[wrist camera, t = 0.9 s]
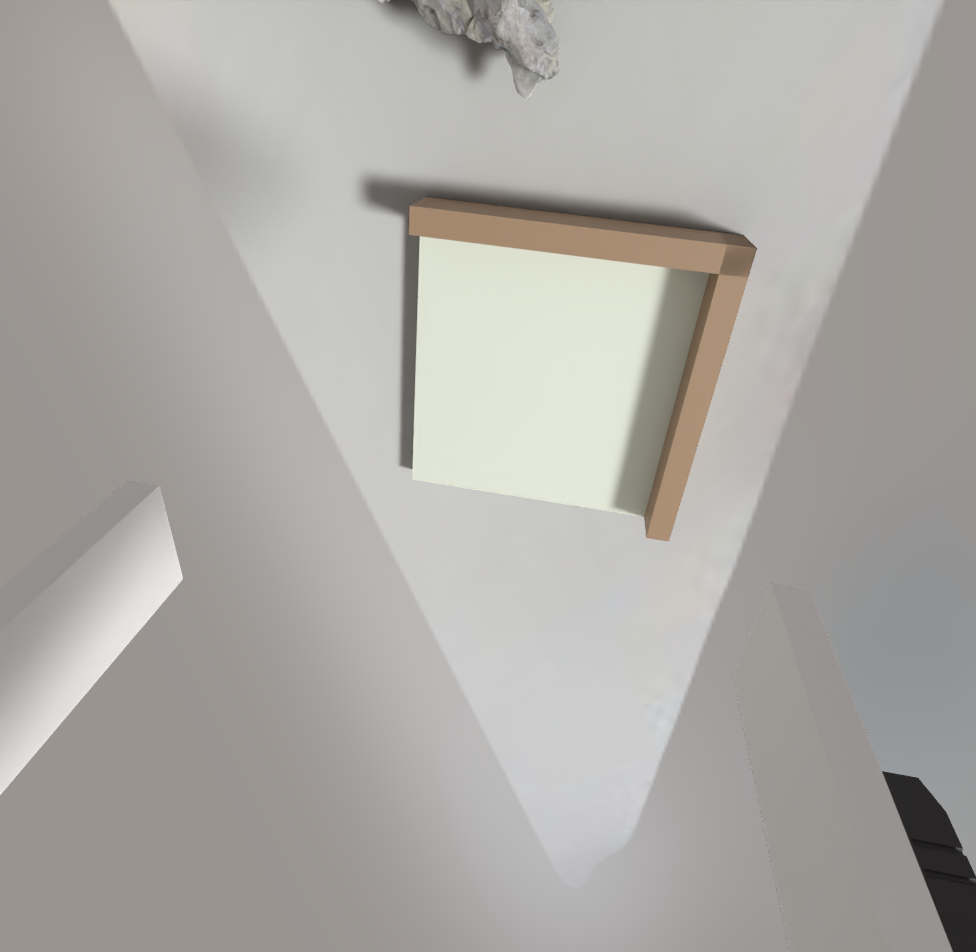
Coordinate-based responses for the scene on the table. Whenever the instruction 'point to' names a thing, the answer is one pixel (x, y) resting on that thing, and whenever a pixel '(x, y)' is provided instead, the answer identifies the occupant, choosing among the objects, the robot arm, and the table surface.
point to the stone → (503, 33)
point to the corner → (568, 353)
